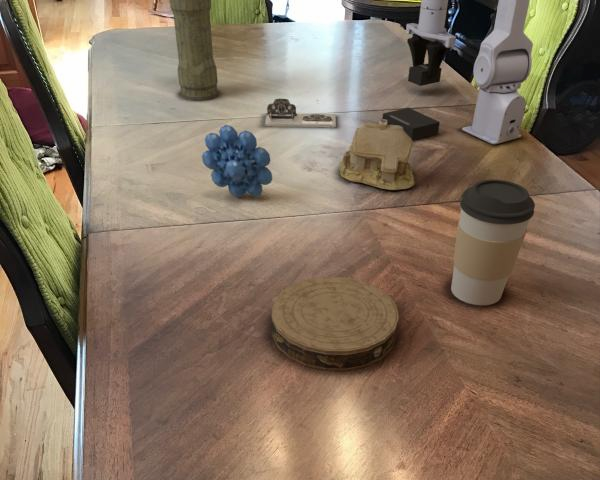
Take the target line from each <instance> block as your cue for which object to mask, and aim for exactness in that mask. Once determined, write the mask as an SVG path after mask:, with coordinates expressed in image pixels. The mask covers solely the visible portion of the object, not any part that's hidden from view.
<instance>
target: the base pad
mask: <svg viewBox="0 0 600 480" xmlns="http://www.w3.org/2000/svg"><path fill="white" fill-rule="evenodd" d="M381 119H386V120H387V124H388V125H399V126H401V127H402V128H403V130H404V132H405V133H406V134H407V135H408V136H409V137H410V138H411V139H412V141H413V142H414V141H418V140H421V139H424V138H425V139H426V138H429V137H433V136H436V135H439V129H440V124H441V122H440V121H439V120H436V119H434V118H432V117H430V116H428V115H425V114H423V113H421V112H419V111H417V110H415V109H413V108H411V107H406V108H405V107H404V108H401V109H397V110H392V111H387V112H383V113H382V118H381Z"/></svg>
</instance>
